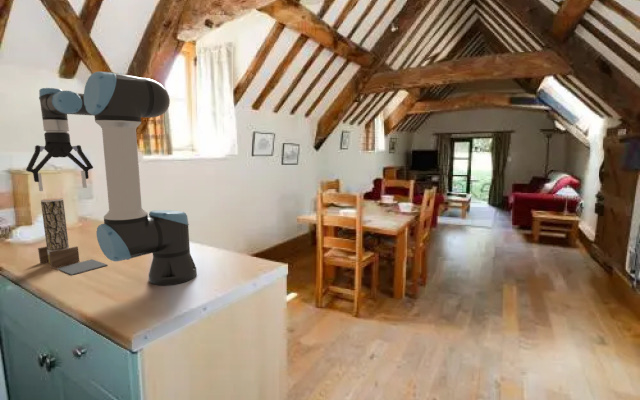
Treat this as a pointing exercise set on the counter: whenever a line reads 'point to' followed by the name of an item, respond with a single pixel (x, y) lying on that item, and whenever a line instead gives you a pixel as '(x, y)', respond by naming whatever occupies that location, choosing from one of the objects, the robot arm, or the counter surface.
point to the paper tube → (54, 224)
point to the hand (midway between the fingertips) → (63, 189)
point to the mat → (81, 267)
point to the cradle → (59, 256)
